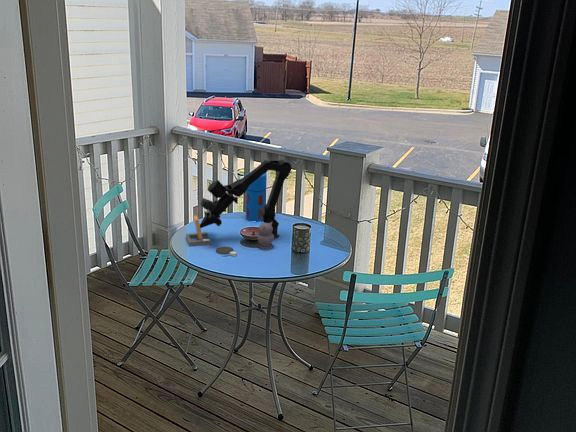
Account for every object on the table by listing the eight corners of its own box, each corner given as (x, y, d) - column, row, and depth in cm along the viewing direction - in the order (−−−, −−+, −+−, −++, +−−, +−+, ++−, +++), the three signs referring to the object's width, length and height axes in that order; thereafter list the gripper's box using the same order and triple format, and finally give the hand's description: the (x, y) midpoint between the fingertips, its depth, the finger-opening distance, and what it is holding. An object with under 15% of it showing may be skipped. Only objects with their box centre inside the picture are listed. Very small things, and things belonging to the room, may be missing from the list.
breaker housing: (206, 237, 273) (206, 231, 272) (211, 246, 263) (210, 240, 262) (185, 239, 270) (185, 233, 269) (189, 248, 260) (189, 242, 259)
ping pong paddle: (241, 253, 256) (241, 250, 256) (229, 259, 250) (229, 256, 249) (223, 248, 262) (223, 245, 261) (212, 253, 256) (212, 250, 255)
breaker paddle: (200, 236, 269) (196, 215, 265) (203, 241, 264) (198, 219, 260) (197, 237, 269) (193, 216, 265) (199, 242, 264) (195, 220, 259)
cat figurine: (263, 242, 271) (264, 219, 267) (277, 245, 267) (277, 222, 263) (253, 247, 264) (254, 224, 260) (267, 251, 260) (268, 227, 256)
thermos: (266, 216, 307) (267, 172, 298) (264, 222, 297) (265, 177, 288) (247, 214, 307) (247, 171, 299) (244, 221, 297) (244, 176, 289)
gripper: (207, 187, 269) (184, 210, 269) (214, 199, 252) (190, 223, 253) (223, 202, 274) (201, 224, 274) (231, 214, 257) (207, 238, 258)
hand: (199, 227), depth 265 cm, fingers closed, pressing on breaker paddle
